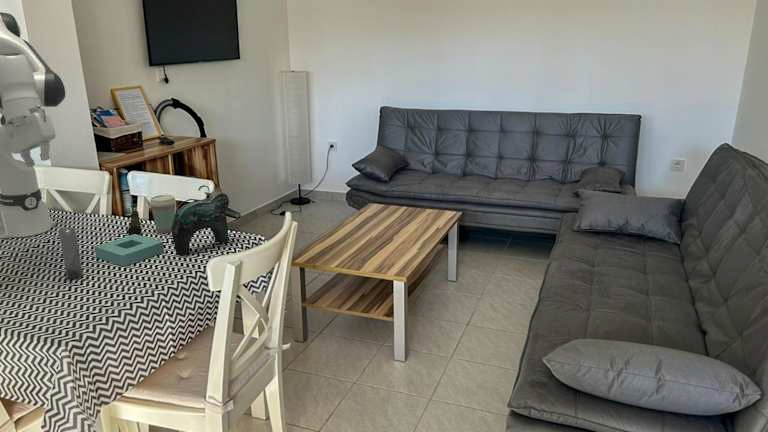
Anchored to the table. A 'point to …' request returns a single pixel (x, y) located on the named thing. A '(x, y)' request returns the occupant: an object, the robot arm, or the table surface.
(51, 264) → the table surface
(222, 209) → the ceramic cat
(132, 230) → the hand tool
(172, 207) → the coffee cup
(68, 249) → the steel pin
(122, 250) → the socket block
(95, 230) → the table surface
